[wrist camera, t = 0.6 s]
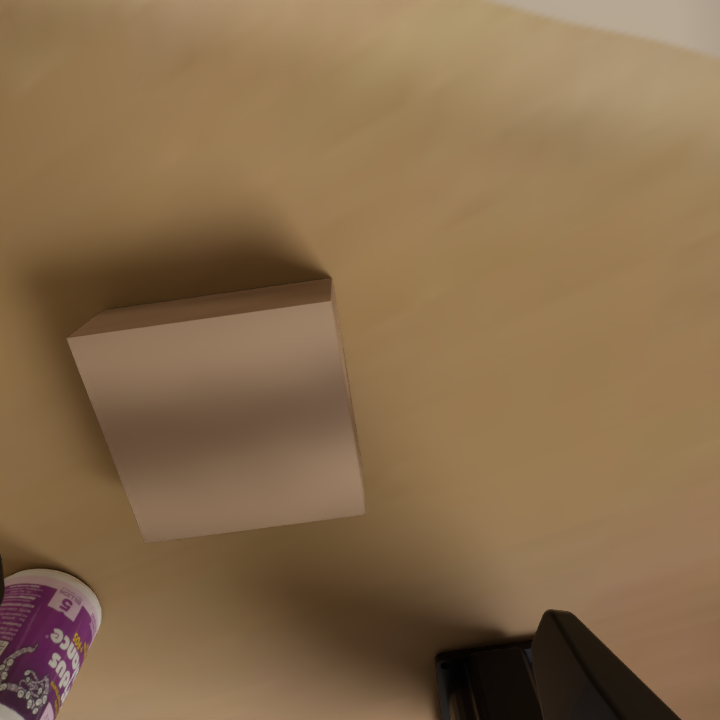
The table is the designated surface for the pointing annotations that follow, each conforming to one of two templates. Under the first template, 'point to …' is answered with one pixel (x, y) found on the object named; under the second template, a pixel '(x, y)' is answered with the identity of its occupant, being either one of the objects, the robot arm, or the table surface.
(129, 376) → the tan flat square block
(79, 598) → the pill bottle
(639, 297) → the table surface
